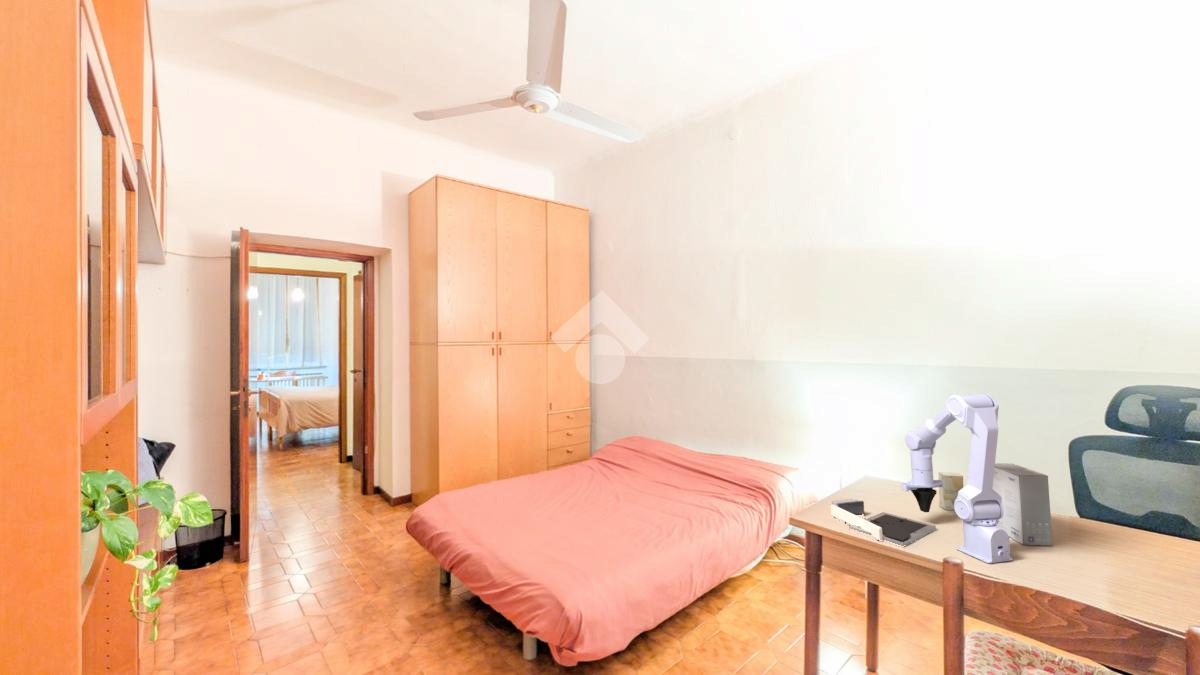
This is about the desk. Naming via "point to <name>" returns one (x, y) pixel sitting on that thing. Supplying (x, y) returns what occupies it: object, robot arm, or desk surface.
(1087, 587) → the desk surface
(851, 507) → the bookend
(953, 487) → the skincare box
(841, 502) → the orange and blue block
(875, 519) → the picture frame
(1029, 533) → the hard drive box
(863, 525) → the shelf wall
